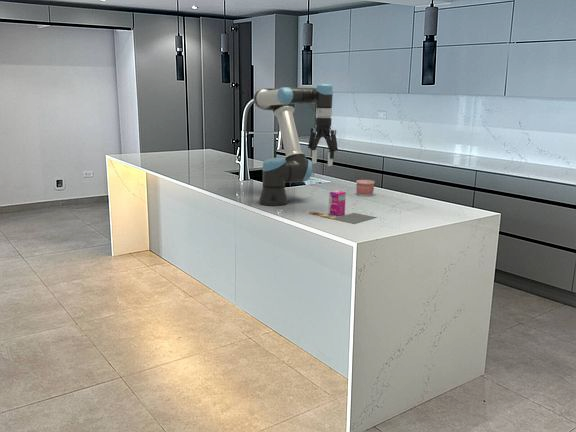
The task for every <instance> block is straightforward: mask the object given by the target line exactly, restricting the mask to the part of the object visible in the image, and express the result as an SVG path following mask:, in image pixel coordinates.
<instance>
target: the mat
mask: <svg viewBox="0 0 576 432" xmlns="http://www.w3.org/2000/svg"><path fill="white" fill-rule="evenodd" d="M336 217H337V216H336ZM377 218H378V217H377V216H373V215H368V214H367V215H366V214H363V213H362V214H361V213H357V212H352V213H349V214H345V215H342V216H338V217H337V218H336V219H332V220H334V221H340V222H344V223H348V224H352V225H356V224H360V223H363V222H367V221H370V220H374V219H377Z"/></svg>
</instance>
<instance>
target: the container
mask: <svg viewBox="0 0 576 432" xmlns="http://www.w3.org/2000/svg"><path fill="white" fill-rule="evenodd" d="M355 182H356V183H355V184H356V190H355V191H356V193H357V195H358V196H360V197H371V196H372V194H374V189H375V183H376V181H374V180H371V179H358V180H356V181H355Z"/></svg>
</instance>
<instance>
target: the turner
mask: <svg viewBox="0 0 576 432" xmlns="http://www.w3.org/2000/svg"><path fill="white" fill-rule="evenodd" d="M308 214H309V215H313V216H318V217H320V218H327V219H331V220H333V219H336V218H337V216H333V215H329V214H325V213H322V212H316V211H312V210H310V211H308Z"/></svg>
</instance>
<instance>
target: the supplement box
mask: <svg viewBox="0 0 576 432" xmlns="http://www.w3.org/2000/svg"><path fill="white" fill-rule="evenodd" d="M328 193H329V194H328V195H329V196H328V215H330V216H336V217H340V216H344V215H346V193H347V192H346V191H341V190H332V191H329V192H328Z"/></svg>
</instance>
